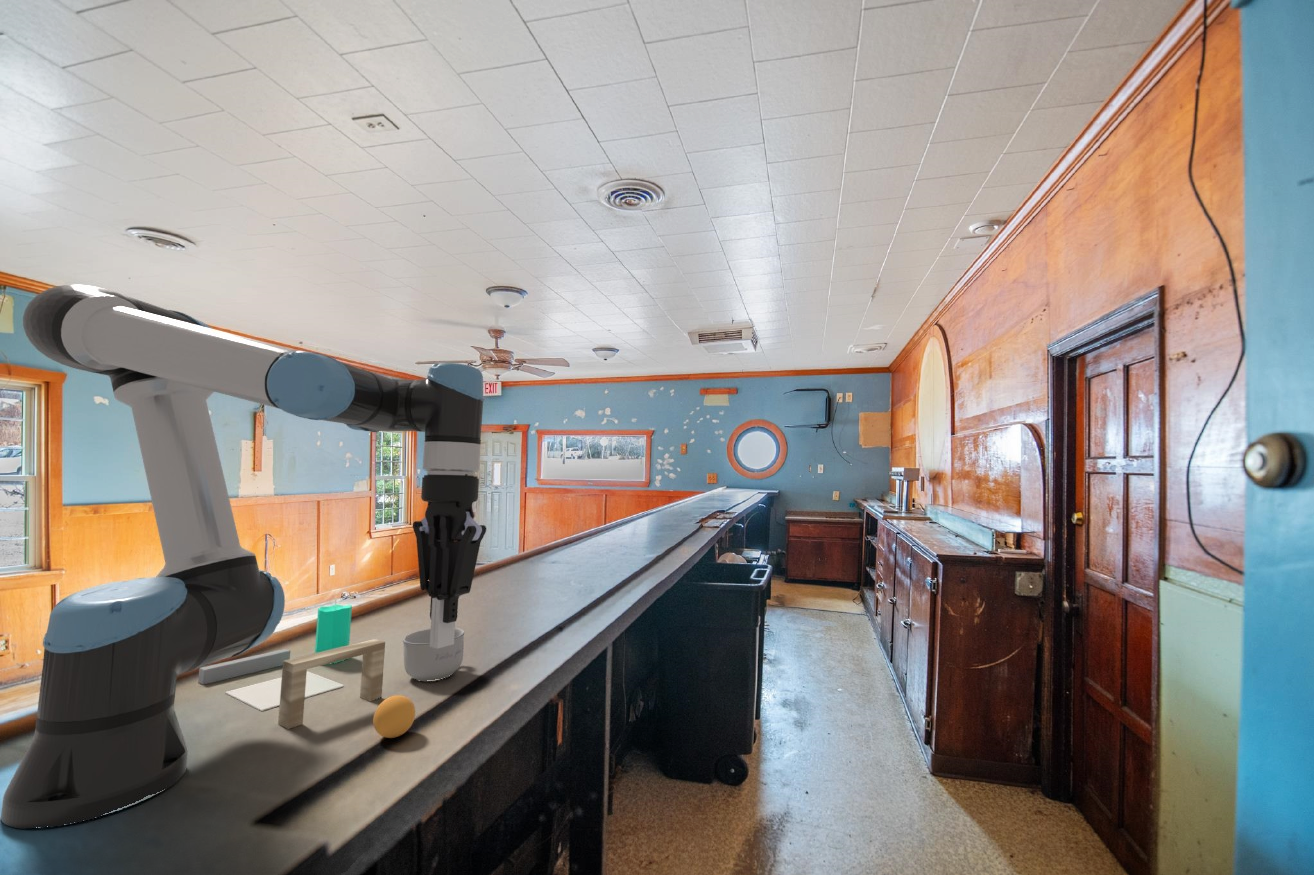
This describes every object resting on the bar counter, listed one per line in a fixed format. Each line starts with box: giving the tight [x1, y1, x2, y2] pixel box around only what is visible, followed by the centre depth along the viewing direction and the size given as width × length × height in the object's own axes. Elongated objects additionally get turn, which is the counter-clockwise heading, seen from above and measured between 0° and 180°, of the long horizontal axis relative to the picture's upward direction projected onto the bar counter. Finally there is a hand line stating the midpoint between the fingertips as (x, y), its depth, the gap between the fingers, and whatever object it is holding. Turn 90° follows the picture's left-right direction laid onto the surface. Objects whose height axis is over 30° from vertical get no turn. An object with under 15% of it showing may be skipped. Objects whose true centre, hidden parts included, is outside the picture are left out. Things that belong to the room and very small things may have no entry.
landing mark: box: [224, 670, 345, 712], centre depth 95 cm, size 13×13×1 cm
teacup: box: [402, 627, 465, 682], centre depth 105 cm, size 14×11×8 cm
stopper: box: [197, 648, 291, 685], centre depth 103 cm, size 14×2×2 cm, turn 149°
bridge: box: [277, 638, 386, 730], centre depth 88 cm, size 3×14×9 cm, turn 149°
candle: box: [314, 599, 353, 665], centre depth 112 cm, size 6×6×12 cm
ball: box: [372, 694, 416, 739], centre depth 79 cm, size 6×6×6 cm
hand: (441, 645), depth 75 cm, fingers closed
